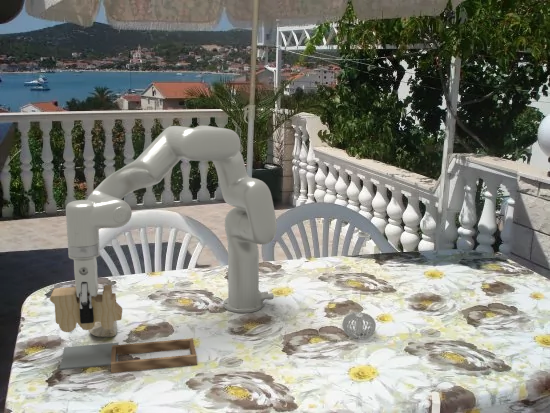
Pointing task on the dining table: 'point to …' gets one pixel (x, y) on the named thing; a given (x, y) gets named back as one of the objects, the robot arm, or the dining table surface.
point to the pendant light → (359, 316)
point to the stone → (103, 330)
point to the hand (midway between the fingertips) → (87, 317)
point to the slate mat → (87, 356)
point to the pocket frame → (153, 362)
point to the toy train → (69, 308)
